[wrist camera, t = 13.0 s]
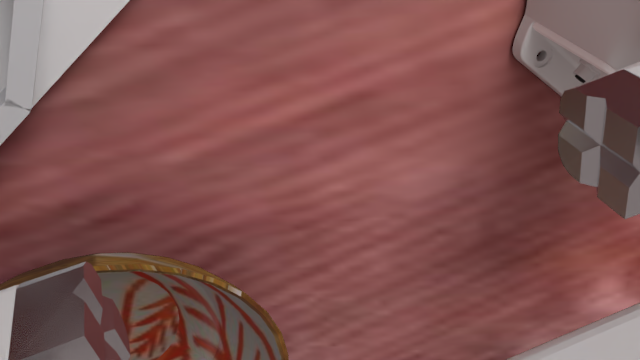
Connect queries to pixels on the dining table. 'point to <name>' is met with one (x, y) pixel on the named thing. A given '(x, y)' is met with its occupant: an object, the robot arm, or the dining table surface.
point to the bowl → (178, 309)
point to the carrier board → (43, 48)
